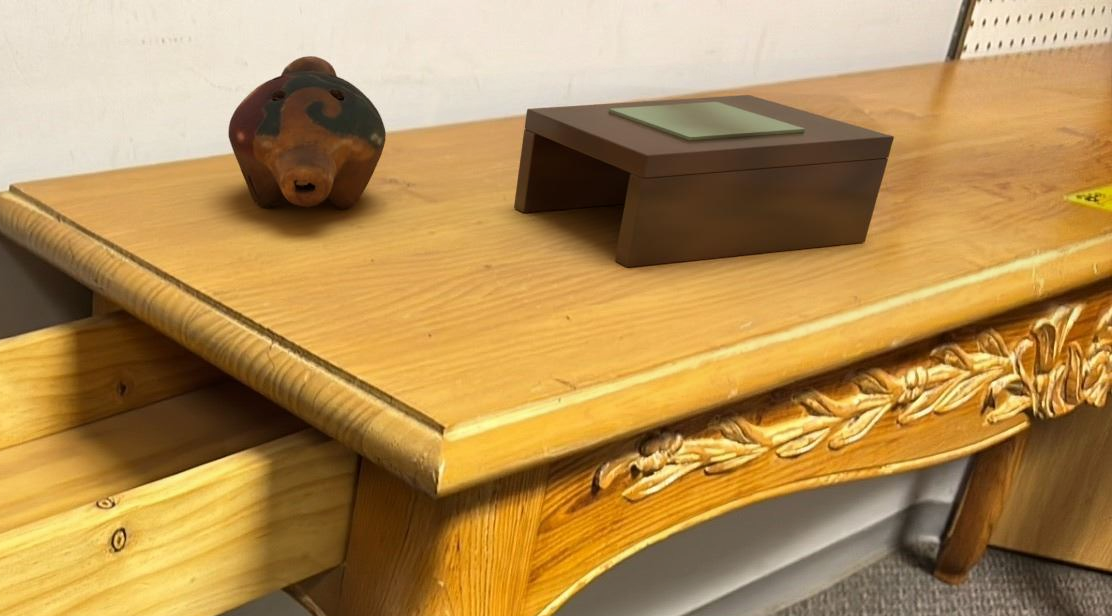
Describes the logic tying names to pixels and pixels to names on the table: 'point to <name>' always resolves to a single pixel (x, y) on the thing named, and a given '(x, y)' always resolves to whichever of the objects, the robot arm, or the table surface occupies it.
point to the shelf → (705, 175)
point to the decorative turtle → (307, 137)
